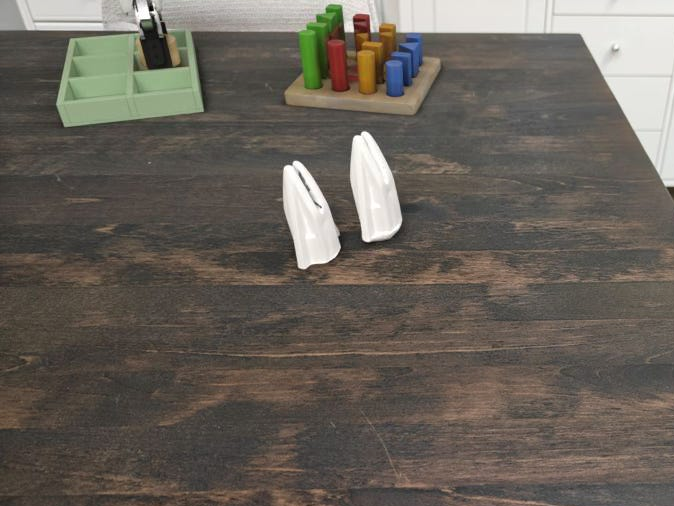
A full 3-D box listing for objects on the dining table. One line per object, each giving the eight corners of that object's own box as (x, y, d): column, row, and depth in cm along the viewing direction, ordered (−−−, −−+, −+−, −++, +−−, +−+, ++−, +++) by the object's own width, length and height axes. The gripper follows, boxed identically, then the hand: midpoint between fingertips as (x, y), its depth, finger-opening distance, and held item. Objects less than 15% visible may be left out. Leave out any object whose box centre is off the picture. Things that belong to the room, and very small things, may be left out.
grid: (65, 129, 91) (56, 104, 89) (77, 60, 108) (69, 38, 106) (204, 113, 95) (199, 89, 93) (195, 50, 112) (190, 28, 110)
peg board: (414, 117, 95) (412, 49, 90) (284, 106, 97) (273, 38, 91) (441, 68, 108) (440, 6, 103) (326, 59, 110) (318, -3, 104)
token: (141, 71, 98) (135, 47, 96) (141, 58, 102) (135, 35, 100) (181, 67, 99) (175, 44, 97) (180, 54, 103) (174, 32, 101)
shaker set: (397, 220, 76) (391, 115, 69) (416, 239, 74) (412, 133, 66) (285, 251, 72) (266, 143, 64) (301, 273, 69) (282, 162, 62)
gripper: (90, -107, 93) (131, 42, 105) (82, -78, 81) (129, 87, 93) (153, -109, 95) (186, 38, 107) (154, -81, 83) (192, 81, 95)
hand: (159, 59), depth 100 cm, fingers closed on token, 5 cm apart
